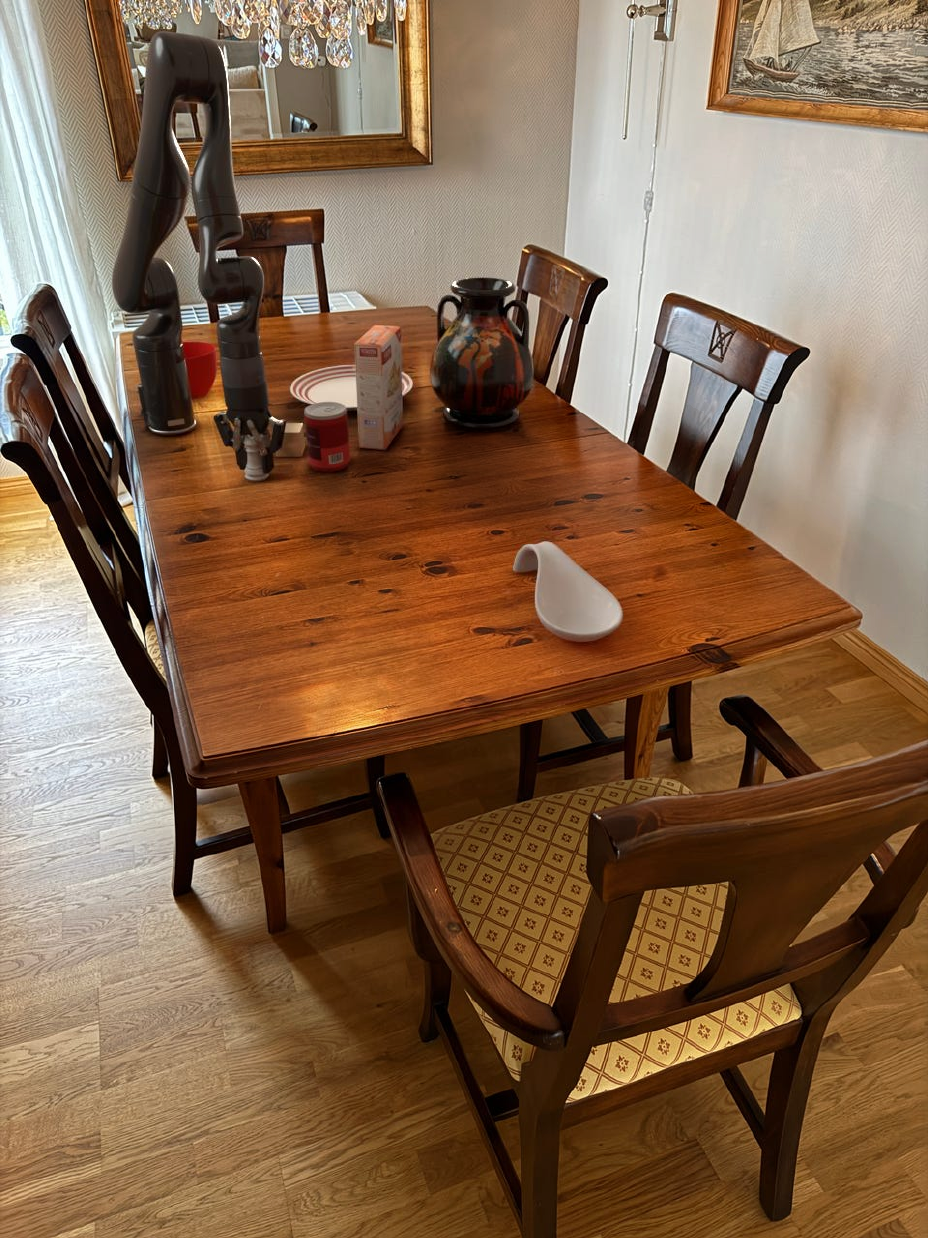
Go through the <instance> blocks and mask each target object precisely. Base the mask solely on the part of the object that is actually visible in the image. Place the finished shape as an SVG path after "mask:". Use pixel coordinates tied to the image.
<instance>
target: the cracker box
mask: <svg viewBox="0 0 928 1238" xmlns="http://www.w3.org/2000/svg"><path fill="white" fill-rule="evenodd" d="M353 348H354V349H353V350H354V365H355V372H356V392H357V411H356V413H357V433H358V447H359V449H367V450H379V451H386V450H387V448H388V447H389V445H390V444H391V443H392V441H394V439H395V437H396V436H397V435H398V433H399V432H400V430H402V428H403V426H404V415H403V414H404V413H403V407H404V405H403V397H402V372H403V364H402V363H403V359H402V357H403V355H402V354H403V353H402V352H403V351H402V326H397V325H381V324H375V325H373V326H372V327H371V328H370V329H369V330H368V331H367V332H365V334H363V335H362V336H361V337H360V338H359V339H358V340H357V341H356V342H354V344H353Z"/></svg>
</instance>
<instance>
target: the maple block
mask: <svg viewBox="0 0 928 1238" xmlns="http://www.w3.org/2000/svg"><path fill="white" fill-rule="evenodd" d="M305 448H306V441H305V431H304V423H303V422H286V427H285V433H284V438H283V444H282V448H281V449H279V450H278V451H277V452H275V457H277V458H301V457H303V455H304V452H305Z"/></svg>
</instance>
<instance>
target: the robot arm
mask: <svg viewBox="0 0 928 1238" xmlns="http://www.w3.org/2000/svg"><path fill="white" fill-rule="evenodd" d="M144 72H145V73H144V87H143V102H142V103H143V105H142V116H141V124H140V133H139V138H138V139H139V141H138V146H137V152H136V156H135V157H136V158H135V163H134V167H133V172H132V179H131V185H130V193H129V202H128V208H127V214H126V219H125V225H124V229H123V234H122V237H121V241H120V245H119V249H118V251H117V255H116V258H115V262H114V265H113V269H112V276H111V288H112V293H113V297H114V300H115V303H116V304H117V306H118V307H119V308H120V309H121V310H122V311H124V312H126V313H127V314H132V315H133V314H134V315H135V314H136V315H137V314H144V313H148V312H149V313H148V316H147V317H146V319H144V321H143V323H141V325H139V326H138V327H136V328H135V329H134V330H133V332H132V334H131V338H132V344H133V349H134V354H135V359H136V364H137V369H138V375H139V380H140V383H139V384H138V385H137V391H138V396H139V397H138V398H139V400H140V407H141V409H140V415H141V416H142V417H143V421H144V426H145V430H146V431H149V432H150V433H151V434H154V435H156V436H161V437H173V436H181V435H184V434H188V433H190V432H193V431H194V430H195V429H196V428H197V420H196V416H195V411H194V405H193V398H191V392H190V386H189V380H188V374H187V368H186V362H185V357H184V351H183V345H182V342H183V325H184V324H183V319H182V317H183V316H182V310H181V298H180V290H179V285H178V280H177V278H176V274H175V271H174V270H173V268H172V266H171V264H170V263H169V262H168V261H167V260H166V259H164V258H163V257H159V256H155V255H156V253H157V252H158V250H159V249H160V248H161V246H162V245H163V244H165V242H166V240H167V239H168V238H169V237H170V236H171V234H172V233H173V232H174V231H175V229H176V228H177V226H178V225H179V223H180V222H181V221H182V219H183V216H184V214H185V212H186V207H187V203H188V198H189V194H190V188H191V197H192V202H193V207H194V213H195V218H196V222H197V228H198V235H199V262H198V270H197V271H198V272H197V286H198V291H199V293H200V296H201V297H202V298H203V299H204V301H206V302H207V303H208V304H210V305H213V306H214V305H216V306H218V305H219V306H220V305H229V304H238V303H242V304H241V307H240V308H239V310H238V311H236V312H234V313H232V314H230V315H226V316H224V317H222V318H220V319H219V320H218V321H217V322H216V326H215V327H216V328H215V330H216V338H217V345H218V351H219V361H220V362H219V366H220V367H219V368H220V376H221V383H222V389H223V397H224V404H225V406H226V408H227V410H226V411H224V410H222V411H219V412H218V413H216V414H215V415H213V417H212V418H213V421H214V424H215V426H216V429H217V431H218V433H219V436H220V438H221V440H222V443H223V445H224V446H225V447H226V448H228V447H229V448H232V450H233V451H234V454H235V460H236V461H235V462H236V465H237V467H238V468H239V471H244V470H245V468H246V465H247V451H246V448H247V447H246V445H245V444H244V443H243V441H244V440H245V437H246V435H248V436H249V437H250V436H252V437H253V438H254V440H255V443H256V444H258V446H259V448H260V452H261V459H262V467H263V473H265V474H268V473H269V474H270V473H271V472H272V471H273V469H274V468H275V459H274V454H276V452H277V451H278V450H279V449H281V448H282V444H283V438H284V433H285V427H286V423H287V421H286V419H284V418H281V419H277V418H275V417H273V416H272V413H271V411H270V409H269V403H270V399H269V391H268V382H267V373H266V366H265V361H264V357H263V353H262V352H263V351H262V344H261V343H262V342H261V336H260V314H261V307H262V299H263V294H264V289H265V274H264V271H263V268H262V265H261V264H260V263H259V262H258V260H257V259H256V258H254V257H252V256H250V255H249V256H248V255H244V256H241V255H240V256H230V257H219V258H218V257H217V251H218V249H219V248H221V247H223V246H226V245H229V244H233V243H235V242H237V241H239V240H241V238H243V235H244V226H243V219H242V215H241V210H240V209H241V208H240V204H239V203H240V202H239V198H238V194H237V188H236V181H235V174H234V166H233V165H234V164H233V151H232V149H233V148H232V126H231V125H232V123H231V110H230V93H229V92H230V91H229V79H228V71H227V65H226V61H225V57H224V54H223V51H222V49H221V47H220V45H219V44H218V43H217V42H216V40H214V39H212V38H210V37H206V36H201V35H197V34H196V35H195V34H188V33H182V32H174V31H162V30H161V31H157V32H155V33H154V35H153V36H152V37H151V39H150V41H149V45H148V49H147V54H146V60H145V71H144ZM176 103H187V104H196V105H201V106H202V109H203V114H204V120H205V128H204V129H205V130H204V131H205V132H204V137H203V142H202V145H201V149H200V151H199V154H198V157H197V159H196V161H195V165H194V168H193V171H192V175H191V173H190V169H189V165H188V163H187V160H186V158H185V156H184V154H183V152H182V150H181V147H180V146H179V143H178V141H177V138H176V136H175V133H174V130H173V112H174V108H175V106H176ZM191 176H192V177H191ZM231 424H232V425H231ZM269 425H270V430H269V427H268V426H269Z"/></svg>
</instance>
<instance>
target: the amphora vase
mask: <svg viewBox="0 0 928 1238" xmlns="http://www.w3.org/2000/svg"><path fill="white" fill-rule="evenodd" d="M516 289H517V287H516V285H515V284H514V282H512V281H509V280H506V279H504V278H496V277H482V276H481V277H468V278H462V279H458V280H456V281H454V282H452V284H451V285H450V290H451V292H452V293H453V294H454V295H452V294H446V295H444V296H442V297H441V298H440V301H439V302H438V305H437V310H436V336H437V337H436V346H435V349H434V351H433V353H432V356H431V360H430V366H429V367H430V368H429V374H430V375H429V376H430V377H429V378H430V383H431V387H432V390H433V393H434V394H435V396H436V397H437V399H438V400H439V402H440V403H442V405H443V406H444V408H443V411H442V417H443V418H442V419H443V420H444V421H445V422H446V423H447V424H448V425H449V426H451V427H453V428H455V429H457V430H462V431H464V432H465V431H466V432H472V433H493V432H498V431H499V432H500V431H503V430H506V429H508V428H511V427H513V426H514V425H515V424H516V423H517V422H519V420H520V417H521V413H520V410H519V408H518V407H519V406H520V405H521V404H522V403H523V402H525V400H526V399H527V397H528V396H529V394H530V392H531V389H532V387H533V383H534V375H535V368H534V358H533V355H532V353H531V350H530V347H529V346H530V311H529V308H528V306H527V304H526V303H525V302H523V301H522V300H521V299H512V300H510V301H509V302H507V303H506V299H507V297H509V296H511V295H513V294H515V292H516ZM455 295H456V296H455ZM457 296H458V297H459V298H458V297H457ZM447 303H452V304H453V306H454V307H455V309H456V317H455V318H454V319H453V320H452V321H451V322H450V323H449V324H448V325H447V327H446V328H445V319H444V313H445V306H446V304H447ZM505 303H506V304H505ZM513 307H515V308H518V309H519V310H520V312H521V317H522V329H521V330H520V329H519V327H518V326H517V324H516V323H515V322H514V321H513V320H512V319H511V317H510V310H511V309H512V308H513Z"/></svg>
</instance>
